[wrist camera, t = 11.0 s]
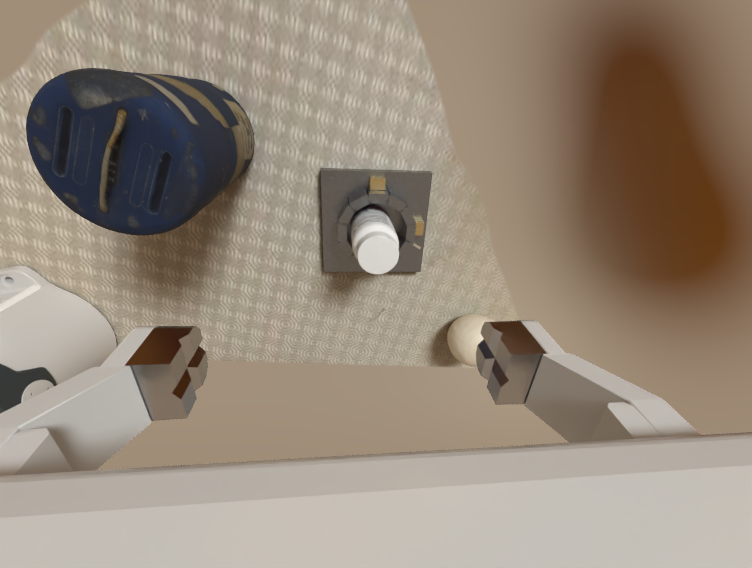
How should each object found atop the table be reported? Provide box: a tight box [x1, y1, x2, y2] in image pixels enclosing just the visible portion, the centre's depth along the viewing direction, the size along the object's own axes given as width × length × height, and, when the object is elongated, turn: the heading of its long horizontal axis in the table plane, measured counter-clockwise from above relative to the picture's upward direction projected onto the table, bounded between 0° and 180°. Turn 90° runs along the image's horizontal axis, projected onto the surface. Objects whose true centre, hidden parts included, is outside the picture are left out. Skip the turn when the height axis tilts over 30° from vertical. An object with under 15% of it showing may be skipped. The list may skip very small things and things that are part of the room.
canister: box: [26, 68, 254, 235], centre depth 27 cm, size 10×10×18 cm
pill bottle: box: [350, 207, 399, 274], centre depth 36 cm, size 5×5×8 cm
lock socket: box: [321, 168, 432, 272], centre depth 39 cm, size 12×12×4 cm
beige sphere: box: [447, 314, 495, 366], centre depth 46 cm, size 7×7×7 cm
